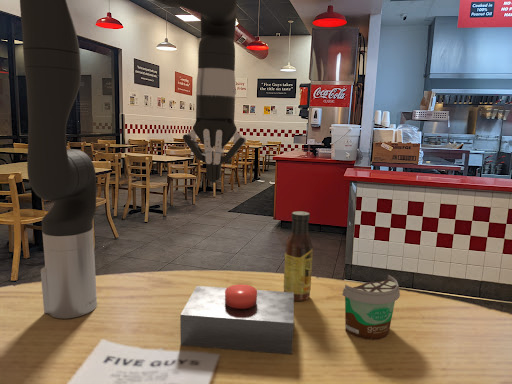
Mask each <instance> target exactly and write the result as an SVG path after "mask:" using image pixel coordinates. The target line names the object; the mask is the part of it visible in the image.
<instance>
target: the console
mask: <svg viewBox="0 0 512 384" xmlns="http://www.w3.org/2000/svg"><path fill="white" fill-rule="evenodd" d="M227 288H228V287H220V286H219V287H218V286H207V285H206V286H204V285H196V287H195V288H194V289H193V292H192V294H191V295H190V296H189V299H188V300H187V302H186V304H185V305H184V308H183V309H182V311H181V313H180V315H179V317H180V321H179V323H180V324H179V325H180V331H179V332H180V346H183V347H184V346H185V347H195V348H196V347H197V348H209V349H222V350H232V351H233V350H234V351H244V352H245V351H246V352H259V353H269V354H270V353H271V354H284V355H293V347H294V346H293V341H294V328H295V327H294V326H295V325H294V322H295V321H294V320H295V317H294V315H295V314H294V312H295V311H294V309H295V307H294V306H295V304H294V303H295V301H294V292H284V291H277V290H265V289H263V290H262V289H256V290H257V302H256V304H255V305H254V306H252V307H250V308H245V309H237V308H232V307H230V306H228V305H227V304H226V303H225V290H226V289H227Z"/></svg>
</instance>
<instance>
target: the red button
mask: <svg viewBox="0 0 512 384" xmlns="http://www.w3.org/2000/svg"><path fill="white" fill-rule="evenodd" d="M226 288H227V289H226V290H225V303H226V304H227V305H228V306H230V307H232V308H237V309H245V308H250V307H252V306H254V305H255V304H256V302H257V290H258V289H257V288H255V287H254V286H252V285H248V284H234V285H230V286H228V287H226Z"/></svg>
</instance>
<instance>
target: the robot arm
mask: <svg viewBox="0 0 512 384" xmlns="http://www.w3.org/2000/svg"><path fill="white" fill-rule="evenodd" d="M153 2H157V3H160V4H163V5H165V6H167V7H170V8H173V9H174V8H176V9H179V8H184V9H187V10H189V11H193V12H195V13H198V14H200V40H199V44H198V52H197V55H198V56H197V57H198V58H197V60H198V61H197V76H196V84H195V85H196V93H195V94H196V95H195V96H196V99H195V100H196V101H195V104H196V105H195V122H194V124H193V128H192V130H191V131H189V132H188V133H186V134H184V135H182V139H183V141H184V142H185V144H186V145H187V147H188V148H189V150H190V151H191V152H192V153H193V155H194V156H195V158H196V159H197V160H198V161H202V162H204V164H206V165H205V168H206V169H205V178H206V180H208V183H211V184H213V183H214V184H217V183H218V181H220V180H221V178H222V166H223V163H228V162H229V161H231V160H232V159H233V157H235V155H236V154H237V152H238V151H239V150H240V149H241V148H242V146H244V144H246V142H247V139H246V137H244V136H242V135H241V134H240V133H239V132H238V131H237V126H236V124H235V112H236V111H235V109H236V107H235V106H236V94H237V90H236V75H235V71H236V45H235V35H236V24H237V23H236V21H237V7H238V0H153ZM19 8H20V20H21V31H22V50H23V51H22V52H23V64H24V65H23V66H24V74H25V82H26V83H25V84H26V97H27V98H26V99H27V117H28V118H27V119H28V131H27V133H28V134H27V135H28V137H27V156H26V157H27V159H26V160H27V162H26V163H27V164H26V165H27V166H26V169H27V179H28V182H29V185H30V187H31V189H32V192H34V194H35V195H36V196H37V197H38V198H40V199H42V200H43V201H48V202H53V201H54V203H53V205H52V206H51V208H50V210H49V211H48V212H47V213H46V214H45V215H44V216H43V217H42V219H41V233H42V243H43V245H42V246H43V254H44V266H43V267H42V268H41V269H40V279H41V280H40V281H41V292H42V304H43V313H44V314H49V315H50V316H51V317H53V318H54V319H55V318H56V319H74V318H78V317H82V316H85V315H87V314H89V313H91V312H92V311H94V310H95V308H96V307H97V306H98V303H97V302H98V301H97V298H98V295H97V282H96V281H97V280H96V279H97V278H96V262H95V261H96V259H95V258H96V257H95V242H94V227H93V225H94V217H95V215H96V211H97V176H96V174H97V173H96V168H95V165H94V162H93V160H92V159H91V157H90V156H89V155H88V154H87V153H86V152H84V151H82V150H79V149H74V148H70V149H68V147H67V125H68V121H69V116H70V114H71V111H72V108H73V106H74V103H75V101H76V99H77V96H78V93H79V91H80V87H81V80H82V72H81V71H82V68H81V51H80V44H79V40H78V36H77V31H76V28H75V27H76V26H75V24H74V21H73V18H72V15H71V11H70V9H69V6H68V2H67V0H19ZM198 139H199V141H200V143H201V144H202V145H203V147H204V150H203V149H202V147H200V145H199V144H198V142H197V140H198ZM232 139H233V140H232ZM231 140H232V143H233V145H232V146H231V147H230V149H228V151H227V152H226V154H225V155H224V151H225V146H226V145H228V144H229V142H230V141H231Z"/></svg>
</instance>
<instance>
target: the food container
mask: <svg viewBox="0 0 512 384" xmlns="http://www.w3.org/2000/svg"><path fill="white" fill-rule="evenodd" d="M342 296H343V297H344V303H345V304H344V306H345V307H344V308H345V309H344V310H345V311H344V312H345V313H344V314H345V316H344V317H345V318H344V319H345V320H344V321H345V324H344V325H345V327H344V328H345V329H344V330H345V332H346V333H348V334H349V335H350V336H353V337H356V338H359V339H363V340H371V341H374V340H383V339H384V338H386V337H387V336H388V335H389V333H390V329H391V324H392V318H393V313H394V308H395V302H396V301H397V300H399V298H400V296H401V292H400V286H399V283H398V281H397V279H395V278H394V277H392V276H391V275H389V274H388V275H387V279H384V280H381V281H369V282H365V283H362V284H360V285H358V286H354V287H352V286H349V285H348V284H344V287H343V291H342Z"/></svg>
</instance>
